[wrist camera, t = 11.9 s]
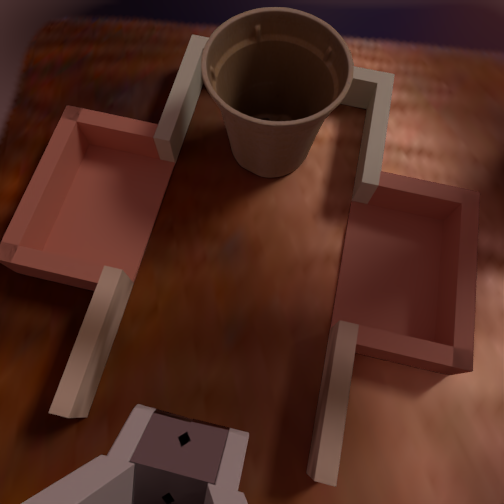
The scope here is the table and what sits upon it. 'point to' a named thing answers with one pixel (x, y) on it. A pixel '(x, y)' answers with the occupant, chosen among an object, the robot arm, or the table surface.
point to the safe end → (359, 95)
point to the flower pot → (275, 84)
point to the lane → (104, 331)
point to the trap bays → (353, 258)
